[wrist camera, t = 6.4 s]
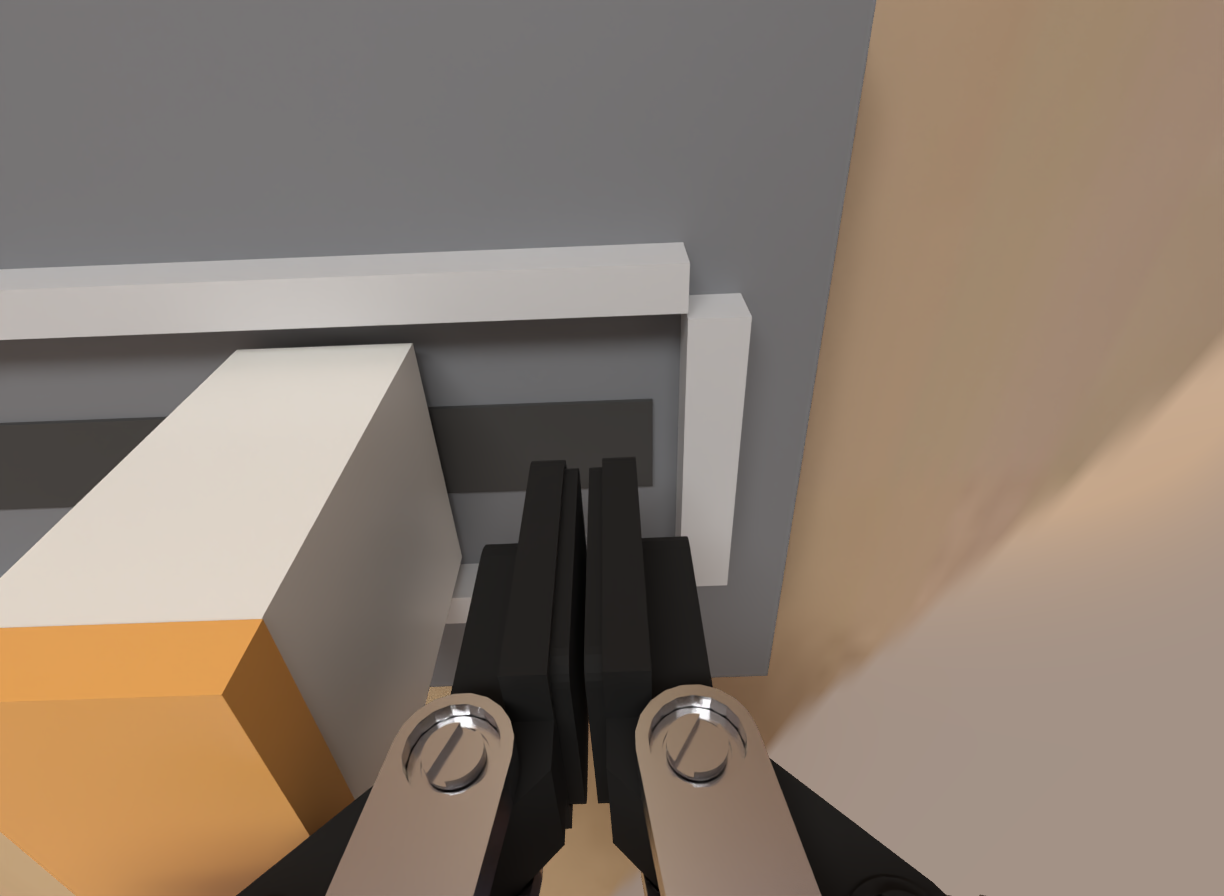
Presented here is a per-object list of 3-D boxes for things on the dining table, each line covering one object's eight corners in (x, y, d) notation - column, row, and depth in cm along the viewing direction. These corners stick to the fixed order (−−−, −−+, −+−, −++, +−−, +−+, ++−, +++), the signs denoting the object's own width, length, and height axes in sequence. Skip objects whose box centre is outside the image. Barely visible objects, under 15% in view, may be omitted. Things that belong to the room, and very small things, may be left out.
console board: (837, -37, 10) (913, -49, 8) (752, 615, 19) (775, 709, 16) (-742, 32, 10) (-1162, 43, 8) (-110, 644, 19) (-217, 742, 16)
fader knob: (415, 340, 11) (222, 694, 5) (465, 558, 14) (372, 936, 8) (232, 347, 11) (-147, 706, 5) (320, 563, 14) (131, 942, 8)
